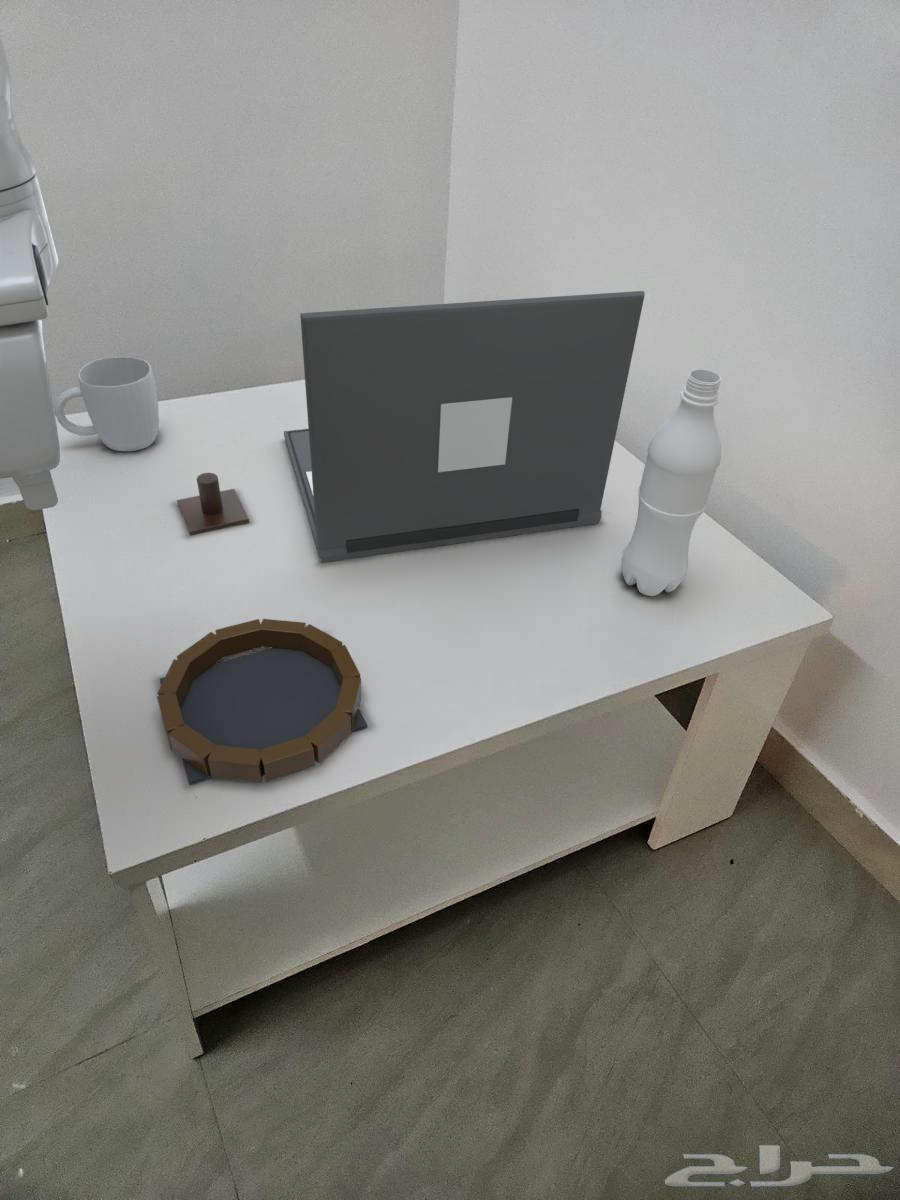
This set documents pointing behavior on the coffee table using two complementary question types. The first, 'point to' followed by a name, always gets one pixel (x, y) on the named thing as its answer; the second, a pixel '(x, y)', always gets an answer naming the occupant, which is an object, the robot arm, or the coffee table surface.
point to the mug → (116, 402)
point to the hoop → (280, 756)
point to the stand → (211, 507)
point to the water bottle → (674, 488)
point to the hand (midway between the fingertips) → (35, 463)
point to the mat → (260, 701)
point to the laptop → (459, 419)
